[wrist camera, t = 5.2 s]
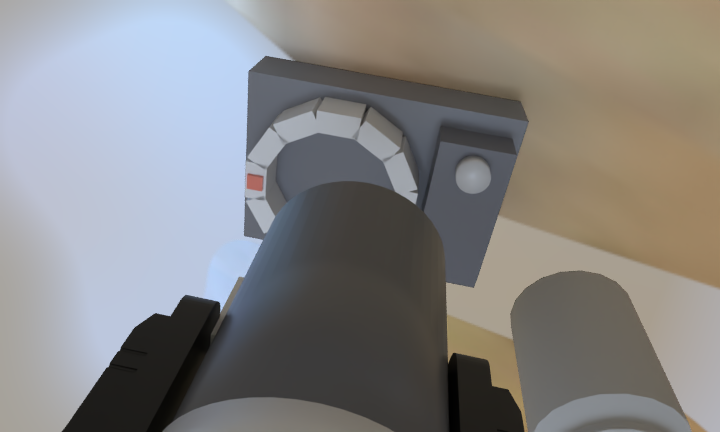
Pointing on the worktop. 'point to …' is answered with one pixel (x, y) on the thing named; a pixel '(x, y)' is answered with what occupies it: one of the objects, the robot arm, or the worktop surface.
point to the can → (589, 360)
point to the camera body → (382, 149)
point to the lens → (331, 324)
